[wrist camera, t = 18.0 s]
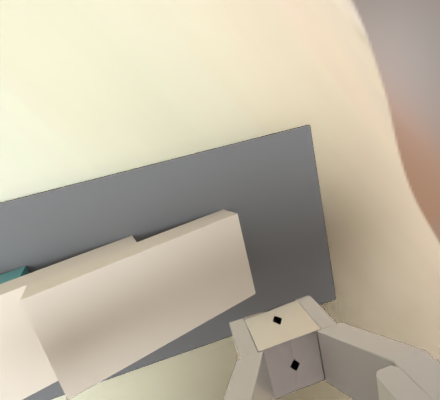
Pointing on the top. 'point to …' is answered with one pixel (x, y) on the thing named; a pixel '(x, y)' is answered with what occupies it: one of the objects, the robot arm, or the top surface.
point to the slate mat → (186, 212)
